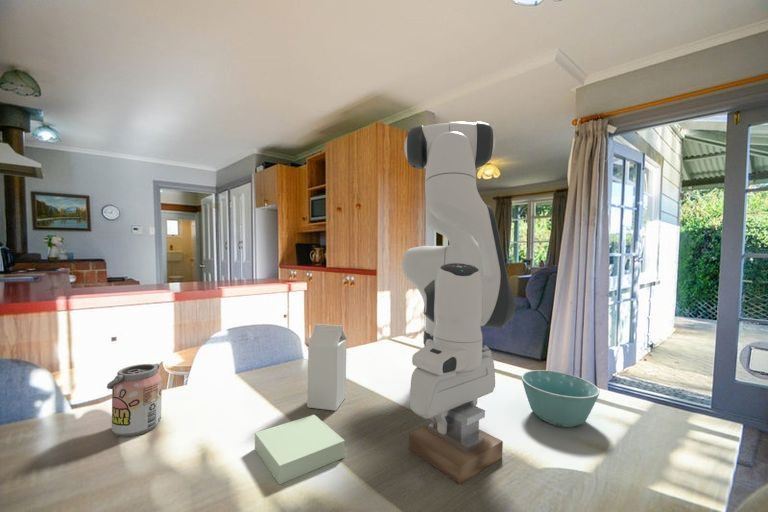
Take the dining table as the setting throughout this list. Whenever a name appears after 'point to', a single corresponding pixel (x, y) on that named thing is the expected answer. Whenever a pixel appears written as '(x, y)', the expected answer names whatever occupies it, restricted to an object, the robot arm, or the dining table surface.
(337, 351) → the milk carton
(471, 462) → the stand
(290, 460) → the stand
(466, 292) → the robot arm
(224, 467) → the dining table surface
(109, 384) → the beverage can
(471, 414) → the block
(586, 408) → the bowl
